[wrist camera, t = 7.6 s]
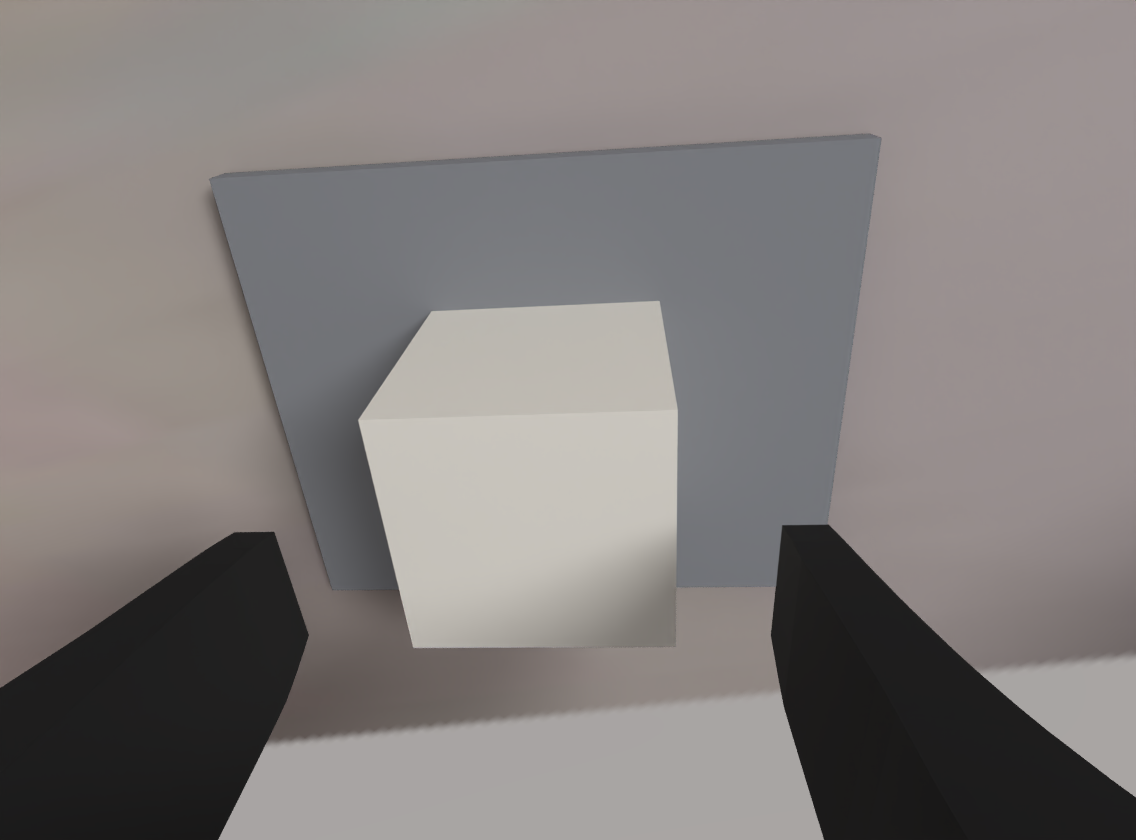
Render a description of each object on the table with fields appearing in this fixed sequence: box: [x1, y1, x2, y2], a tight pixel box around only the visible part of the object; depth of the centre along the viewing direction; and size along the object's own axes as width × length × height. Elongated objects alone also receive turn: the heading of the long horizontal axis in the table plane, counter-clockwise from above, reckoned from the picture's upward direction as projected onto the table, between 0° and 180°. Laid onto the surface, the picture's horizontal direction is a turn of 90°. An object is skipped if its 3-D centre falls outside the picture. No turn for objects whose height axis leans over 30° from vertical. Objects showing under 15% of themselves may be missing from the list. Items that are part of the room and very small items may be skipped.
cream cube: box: [358, 301, 678, 648], centre depth 13 cm, size 4×4×4 cm
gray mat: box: [209, 134, 881, 590], centre depth 15 cm, size 12×10×1 cm
